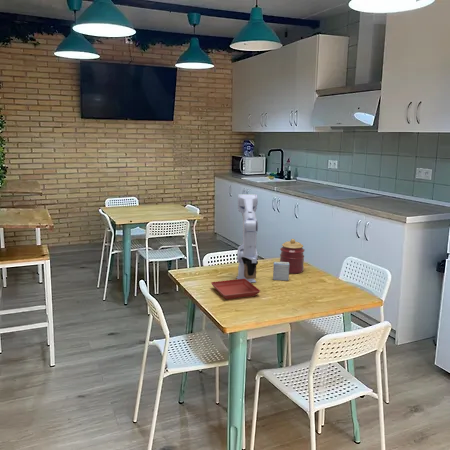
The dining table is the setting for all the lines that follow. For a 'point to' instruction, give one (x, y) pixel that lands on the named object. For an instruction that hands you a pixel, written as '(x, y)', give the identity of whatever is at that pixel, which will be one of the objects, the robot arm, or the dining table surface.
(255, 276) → the walnut block
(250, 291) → the plant saucer
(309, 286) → the dining table surface
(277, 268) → the medicine box
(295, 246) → the canister
